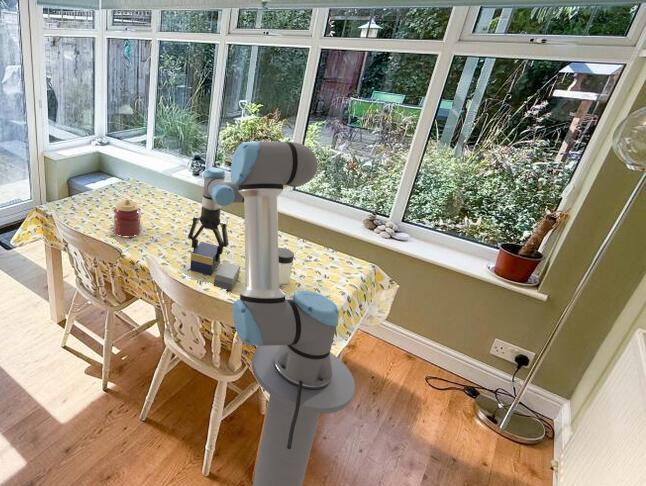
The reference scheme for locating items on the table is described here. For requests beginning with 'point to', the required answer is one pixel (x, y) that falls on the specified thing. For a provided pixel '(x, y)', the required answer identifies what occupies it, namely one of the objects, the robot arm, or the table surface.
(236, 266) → the grey stack
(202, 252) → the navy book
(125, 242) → the table surface
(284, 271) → the jar
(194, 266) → the navy stack
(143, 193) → the table surface
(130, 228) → the kitchen canister
